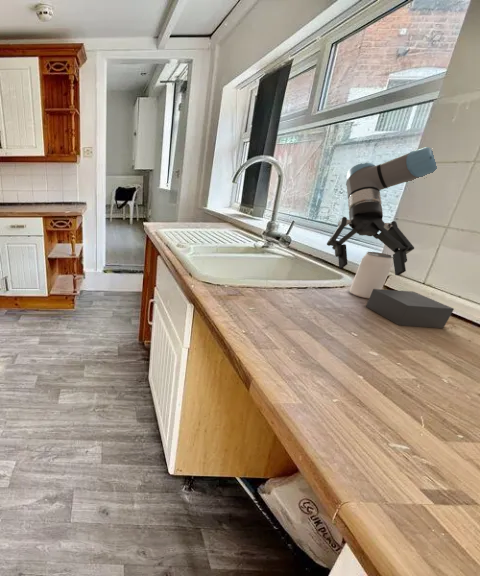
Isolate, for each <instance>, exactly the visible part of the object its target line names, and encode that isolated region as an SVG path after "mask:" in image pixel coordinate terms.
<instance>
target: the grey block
mask: <svg viewBox="0 0 480 576" xmlns="http://www.w3.org/2000/svg"><path fill="white" fill-rule="evenodd" d="M367 300H368V301H367V303H366V305H365V307H366V308H368V309H369V310H371V311H373V312H375V313H376V314H378V315H380V316H382V317H384V318H385V319H387V320H389V321H390V322H392V323H394V324H396V325H398V326H403V327H404V326H406V327H419V328H433V329H434V328H435V329H444V328H445V327H446V324H447V323H448V321H449V319H450V317H451V315H452V314H453V312H454V311H455V308H453V307H451V306H449V305H447V304H444V303H442V302H440V301H437V300H435V299H432V298H429V297H428V296H425V295H422V294H421V293H418V292H415V291H409V290H395V289H382V290H381V289H373V291H372V293H371V295H370V298H369V299H367Z"/></svg>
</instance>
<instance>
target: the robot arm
mask: <svg viewBox="0 0 480 576" xmlns="http://www.w3.org/2000/svg"><path fill="white" fill-rule="evenodd" d="M432 149H433V148H431V147H429V146H425V147H422V148H419V149H415V150H412V151H410V152H408V153H405V154H403V155H400V156H398V157H395V158H393V159H390V160H387V161H385V162H382V163H380V164H377V165H376V164H375V163H373V162H368V161H367V162H364V163H361V162H360V163H358V164H355V165H353V166H352V167H350V169H348V171H347V173H346V180H345V181H346V182H345V186H346V192H347V204H348V218H349V219H348V218H347V217H346V216H343V217H341V219H339V221H338V222H337V227H336V229H335V230H334V232H333V233H332V235H330V238H329V239H328V241H327V242H326V246H328V247H330V246H331V248H332V250H334V256H335V258H337V259H338V269H339V270H340V269H342V270H343V269H344V268H345V267H346V266H347V265H348V252H347V244H345V243H346V242H347V241H349V240H350V239H351V238H352V237H353V236H355V235H356V234H358V236H366V237H373V238H374V239H376V240H379V241H380V242H381V243H382V244H383V245H384V246H386V247H387V248H388V249H389V250H391V252H393V254H392V256H393V268H394V275H395V276H400V275H403V274H404V273H405V272H407V270H406V263H407V262H408V257H407V254H409V253H410V252H412V251H413V250H415V246H414V245H413V244H412V242H411V241H409V239H408V238H407V236H406V235H405V234H404V233H403V231H401V229H400V228H399V226H398V223H397V221H396V220H391V222H385V221H384V220H383V216H384V214H383V212H384V211H383V207H382V197H381V190H384V189H388V188H391V187H394V186H396V185H397V186H398V185H400V184H404V183H407V182H408V181H412V180H414V179H416V178H419V177H423V176H425V175H427V174H430V173H433V172H434V171H435V170H436V169H437V166H436V162H435V159H434V155H433V151H432ZM347 226H349V227H350V228H351V230H350V231H349V232H348V233H346V234H345V235H344V236H343V237H342V238H340V239H339V240H337V239H338V238H339V236H340V235H341V233H342V232H343V230H344V229H345V227H347Z"/></svg>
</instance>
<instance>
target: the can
mask: <svg viewBox="0 0 480 576" xmlns="http://www.w3.org/2000/svg"><path fill="white" fill-rule="evenodd" d="M393 266H394V262H393V255H391V254H388V253H384V252H378V251H366V253H365V255H363V256H362V258H361V260H360V263H359V265H358V267H357V270H356V272H355V276H354V278H353V281H352V282H351V285H350V289H349V293H350V294H351V295H353V296H355V297H359V298H362V299H367V300H369V298H370V295H371V293H372V291H373V289H381V290H383V287H384V286H385V283H386V281H387V279H388V276H389V274H390V271H391V270H392V267H393Z"/></svg>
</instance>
